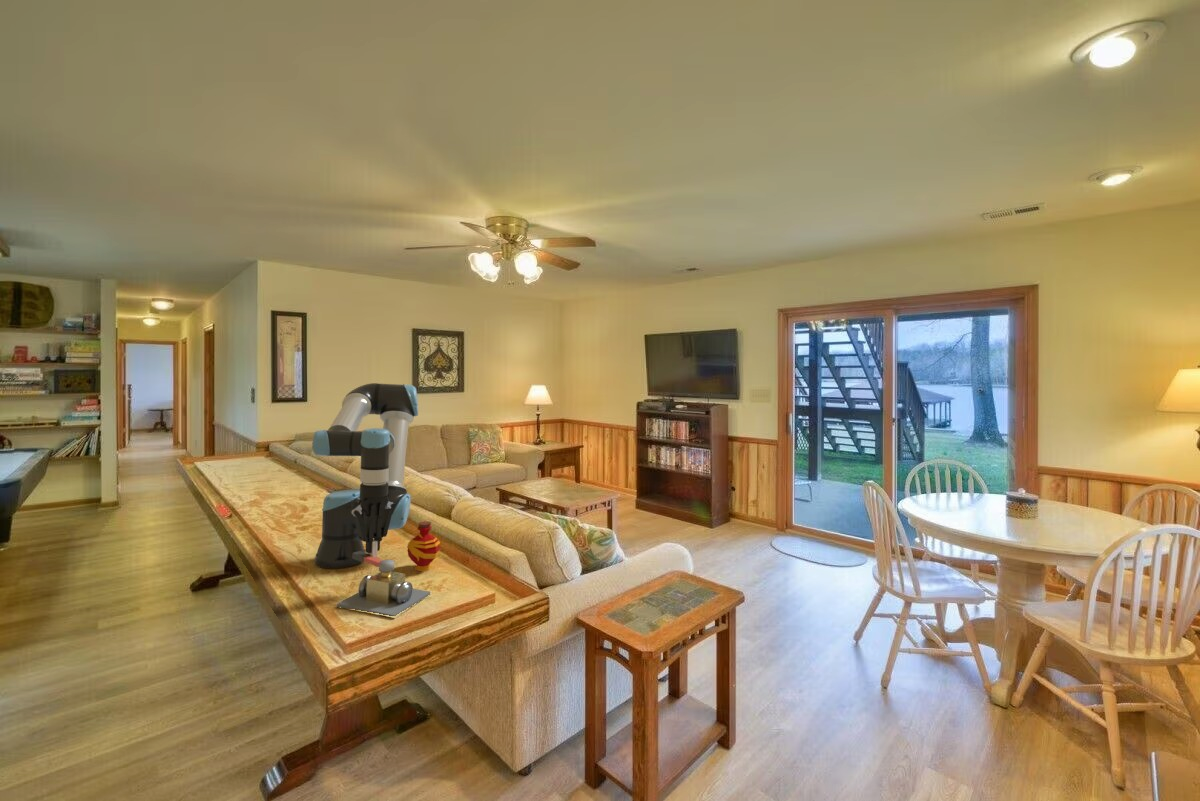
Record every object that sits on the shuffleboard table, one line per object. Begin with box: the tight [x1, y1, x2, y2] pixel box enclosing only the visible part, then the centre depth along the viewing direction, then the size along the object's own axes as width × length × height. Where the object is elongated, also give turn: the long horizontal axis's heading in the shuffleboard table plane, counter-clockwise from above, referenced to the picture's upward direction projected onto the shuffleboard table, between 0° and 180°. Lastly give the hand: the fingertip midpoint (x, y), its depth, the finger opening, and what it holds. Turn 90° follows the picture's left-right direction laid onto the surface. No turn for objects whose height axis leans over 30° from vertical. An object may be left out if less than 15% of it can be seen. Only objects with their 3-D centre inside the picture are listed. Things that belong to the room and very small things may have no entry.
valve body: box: [358, 570, 414, 605], centre depth 143 cm, size 14×7×8 cm, turn 75°
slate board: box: [336, 588, 431, 616], centre depth 143 cm, size 18×16×1 cm
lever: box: [352, 551, 395, 572], centre depth 146 cm, size 16×4×2 cm, turn 59°
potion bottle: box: [406, 520, 441, 572], centre depth 168 cm, size 10×10×15 cm
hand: (372, 562), depth 149 cm, fingers closed
